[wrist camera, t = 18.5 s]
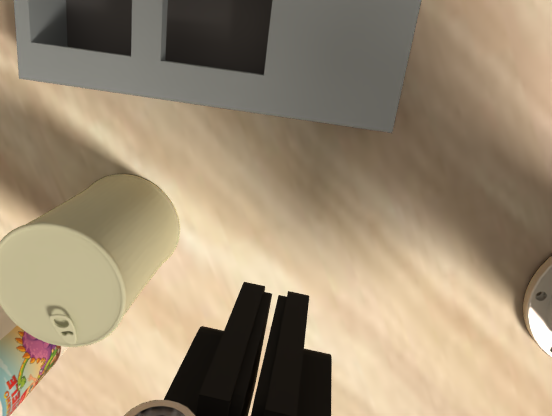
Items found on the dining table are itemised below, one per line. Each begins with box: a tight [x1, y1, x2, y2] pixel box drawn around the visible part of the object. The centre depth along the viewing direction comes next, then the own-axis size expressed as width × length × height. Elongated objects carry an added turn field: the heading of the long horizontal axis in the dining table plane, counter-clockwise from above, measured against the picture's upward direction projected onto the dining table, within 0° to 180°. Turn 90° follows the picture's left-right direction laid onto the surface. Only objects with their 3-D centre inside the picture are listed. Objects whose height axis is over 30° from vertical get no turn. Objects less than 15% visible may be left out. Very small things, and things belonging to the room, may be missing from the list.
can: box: [0, 174, 180, 347], centre depth 34 cm, size 9×9×12 cm
